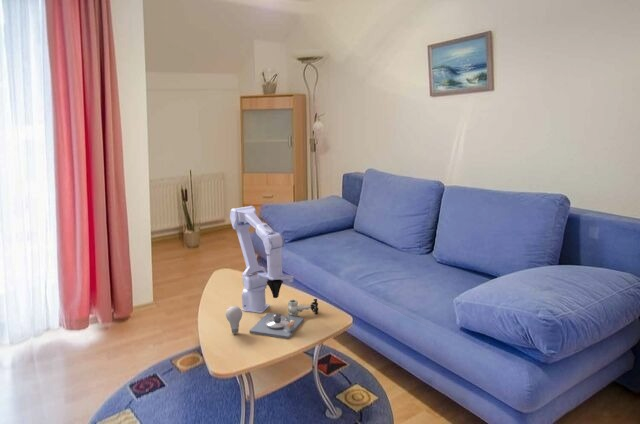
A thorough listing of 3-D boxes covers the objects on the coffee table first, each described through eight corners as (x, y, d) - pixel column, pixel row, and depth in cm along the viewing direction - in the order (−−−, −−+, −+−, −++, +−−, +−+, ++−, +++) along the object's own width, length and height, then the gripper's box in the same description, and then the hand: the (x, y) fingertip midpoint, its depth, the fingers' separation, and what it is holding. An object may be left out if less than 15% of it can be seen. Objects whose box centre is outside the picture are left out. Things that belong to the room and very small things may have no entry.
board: (249, 333, 172) (249, 323, 171) (267, 315, 187) (267, 306, 186) (288, 339, 167) (288, 328, 166) (303, 320, 182) (303, 311, 181)
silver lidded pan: (261, 323, 177) (260, 314, 176) (279, 316, 183) (279, 307, 182) (282, 335, 167) (282, 325, 166) (301, 327, 173) (300, 318, 172)
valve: (289, 320, 182) (318, 317, 184) (288, 305, 181) (318, 302, 183) (287, 313, 189) (315, 310, 191) (286, 298, 187) (315, 295, 189)
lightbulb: (235, 339, 167) (234, 311, 165) (223, 335, 171) (221, 308, 168) (246, 332, 172) (245, 305, 170) (234, 328, 176) (233, 302, 173)
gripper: (253, 265, 175) (254, 298, 177) (287, 269, 170) (289, 303, 173) (261, 260, 181) (262, 292, 184) (294, 263, 177) (295, 296, 179)
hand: (275, 297), depth 179 cm, fingers closed
